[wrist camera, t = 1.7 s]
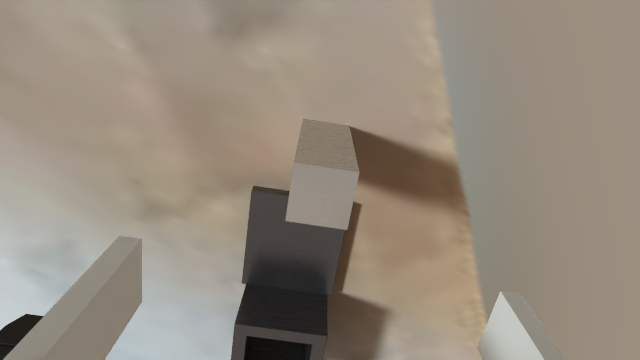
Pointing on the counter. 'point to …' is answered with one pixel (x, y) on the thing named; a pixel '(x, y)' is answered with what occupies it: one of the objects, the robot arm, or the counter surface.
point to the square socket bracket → (284, 283)
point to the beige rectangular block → (323, 176)
